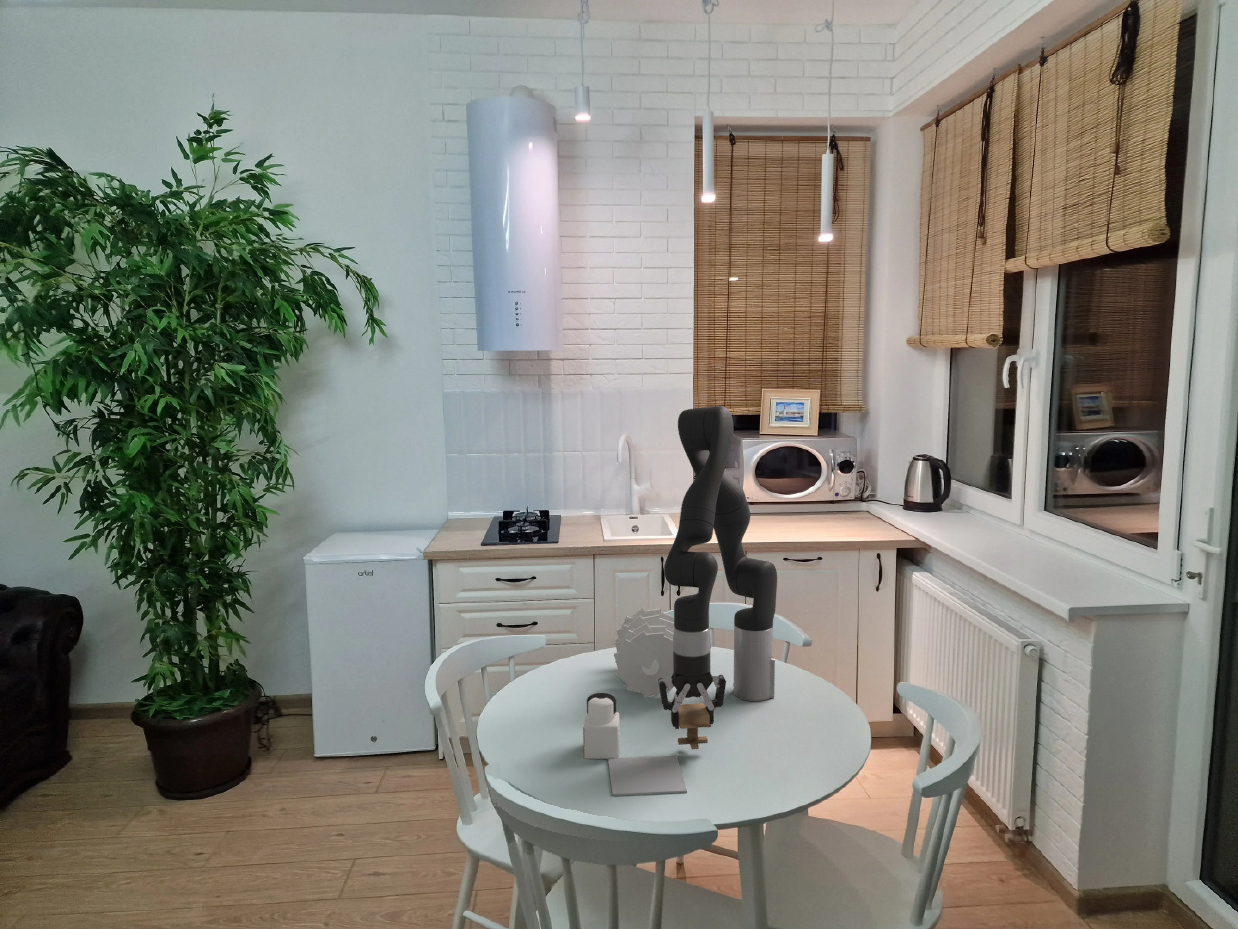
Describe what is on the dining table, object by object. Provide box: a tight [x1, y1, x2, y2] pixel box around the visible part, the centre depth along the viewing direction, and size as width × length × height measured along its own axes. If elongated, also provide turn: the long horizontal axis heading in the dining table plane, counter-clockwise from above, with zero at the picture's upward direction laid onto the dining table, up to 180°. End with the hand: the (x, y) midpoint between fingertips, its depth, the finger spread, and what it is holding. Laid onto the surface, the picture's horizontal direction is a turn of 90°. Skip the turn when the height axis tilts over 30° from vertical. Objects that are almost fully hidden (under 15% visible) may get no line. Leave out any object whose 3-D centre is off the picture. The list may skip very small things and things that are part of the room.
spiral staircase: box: [613, 607, 675, 699], centre depth 208 cm, size 18×18×25 cm
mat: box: [607, 754, 688, 797], centre depth 163 cm, size 14×14×1 cm
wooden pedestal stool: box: [677, 702, 711, 750], centre depth 171 cm, size 6×6×7 cm
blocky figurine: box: [582, 692, 621, 760], centre depth 173 cm, size 7×7×12 cm
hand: (692, 726), depth 171 cm, fingers closed on wooden pedestal stool, 6 cm apart
